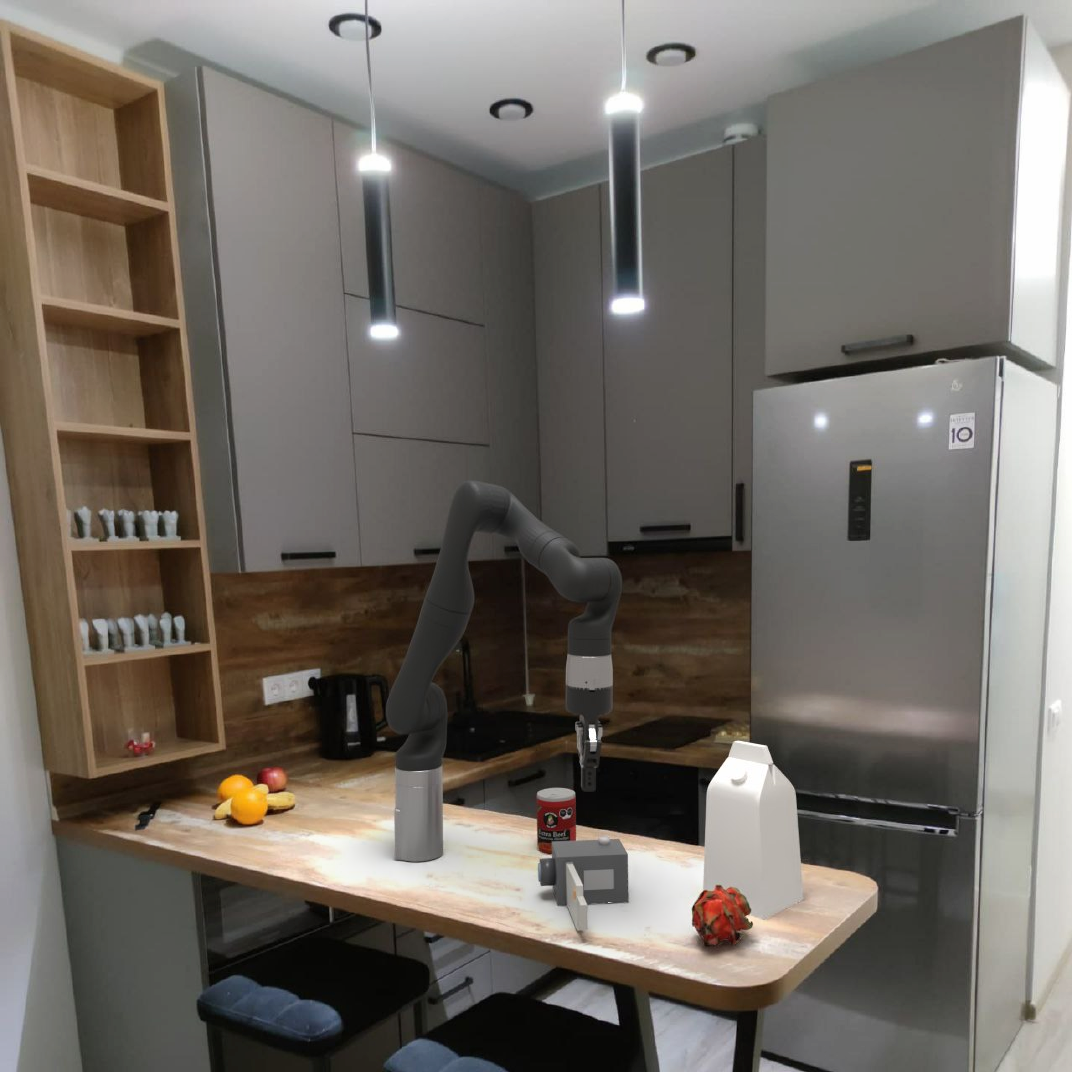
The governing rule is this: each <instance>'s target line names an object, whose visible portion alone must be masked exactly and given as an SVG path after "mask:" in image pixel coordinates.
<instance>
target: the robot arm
mask: <svg viewBox="0 0 1072 1072" xmlns="http://www.w3.org/2000/svg"><path fill="white" fill-rule="evenodd" d="M475 533H482V534H489V535H490V534H497V535H500V536H503V537H505V538H508V539H510V540H513V541H514V542H515V543H516V544H517V547H518V550H519V552H520V554H521V556H522V557H523V558H524V559H525V560H526V562H528V564H530V565H532V566H533V567H534V568H536V569H537V570H538V571H540V572H541V573H543V574H544V575H546V577H547V578H548V579H549V582H550V583H551V584H552V585H553V587H554V588H555V590H556V591H557V593H558V594H559V595H560V596H561V597H563V598H564V599H567V600H569V601H571V602H574V603H587V604H586V607H585V611H584V612H583V613H582V614H581V615H578V616H577V617H574V618H572V619H571V620H569V623H568V626H567V659H566V666H565V710H566V711H567V712H568V713H569V714H573V715H577V716H578V715H579V721H576V722H575V731H576V744H577V745H576V749H577V750H578V758H579V764H580V770H581V771H580V777H581V778H580V787H581V790H582V791H583V792H587V793H588V792H595V791H596V788H597V768H598V767H599V765H600V758H601V751H602V746H603V742H602V739H601V738H602V737H603V725H602V724H601V721H599V716H601V715H603V716H604V715H608V714H609V713H612V711H613V703H614V702H613V700H614V699H613V694H614V692H613V690H614V689H613V683H614V677H613V676H614V675H613V673H614V669H613V659H612V629H613V625H614V622H615V617H616V613H617V611H618V605H619V604H620V598H621V594H622V588H623V587H622V586H623V578H622V573H621V571H620V569H619V567H618V565H617V564H616V563H615V561H613V560H612V559H610V558H606V557H581V553H580V550H579V548H578V546H577V545H576V544H574V543H573V542H572V541H571V540H569V539H568V538H566V537H565V536H564V535H562V534H560V533H559V532H557V531H556V530H554V529H552V528H551V527H549V526H548V525H546V524H545V523H544V522H543V521H541V520H539V518H537V517H536V516H535V515H534V514H533V513H532V512H531V511H530V510H529V509H528V508H526V507H525V505H523V503H521V500H519V499H518V498H517V497H516V496H515V495H514V494H513V493H512V492H510V490H508V488H505V487H503V486H501V485H498V484H493V483H489V482H488V483H487V482H483V481H478V480H465V481H463V482H462V483H461V484H460V485H459V486H458V488H457V489H456V491H455V493H453V497H452V500H451V503H450V506H449V510H448V515H447V519H446V525H445V528H444V533H443V538H442V542H441V547H440V549H439V554H438V557H437V560H436V564H435V568H434V571H433V574H432V577H431V580H430V583H429V586H428V589H427V590H426V591H427V592H426V594H425V597H424V599H423V603H422V605H421V609H420V613H419V616H418V619H417V624H416V625H415V626H416V627H415V629H414V631H413V635H412V638H411V640H410V643H409V647H408V649H407V652H406V654H405V658H404V660H403V662H402V665H401V667H400V669H399V671H398V674H397V676H396V679H395V681H394V683H393V685H392V687H391V690H390V692H389V694H388V698H387V701H386V704H385V705H386V706H385V718H386V721H387V724H388V726H389V727H390V729H391V730H392V731H393V732H394V733H396V734H399V735H408V736H407V738H406V741H405V742H404V743H403V744H402V745H401V746H400V748H399V749H398V750H397V751H396V752H395V754H394V792H395V795H394V796H395V797H394V798H395V799H394V800H395V802H394V803H395V805H394V806H395V807H394V811H393V814H394V819H393V820H394V860H400V861H405V862H415V863H416V862H427V861H431V860H435V859H439V858H440V857H441V856H442V855H443V854H444V808H443V807H444V798H443V797H444V796H443V793H444V792H443V787H444V786H443V757H444V755H445V752H446V749H447V748H446V747H447V737H448V735H447V733H448V729H447V728H448V703H447V698H446V696H445V693H444V691H443V689H442V688H441V687H440V686H439V685H438V684H436V683H434V682H432V681H433V679H434V677H435V675H436V673H437V671H438V669H439V668H440V667H441V665H442V664H443V663H444V661H445V660H446V659H447V658H448V657H449V655H450V653H452V651H453V650H455V648H456V646H457V645H458V643H459V642H460V640H461V639H462V637H463V635H464V633H465V631H466V629H467V626H468V623H469V621H470V617H471V614H472V612H473V608H474V604H475V589H474V585H473V581H472V576H471V573H470V569H469V568H470V567H469V561H468V560H469V554H470V553H469V552H470V549H471V544H472V540H473V537H474V535H475Z"/></svg>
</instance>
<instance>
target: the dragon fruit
mask: <svg viewBox="0 0 1072 1072" xmlns="http://www.w3.org/2000/svg"><path fill="white" fill-rule="evenodd" d="M750 913H751V908H750V907H749V903H748V901H747V899H746V897H745V896H744V895H743V894H741V893H740V891H739V890H738V889H737V888H735V887H729V888H727V889H726V890H725V889H724V888H723V887H722V886H721V885H716V886H715V890H714V891H708V890H704V891H703V890H702V891H701V892H700V894H699V895H698V897H697V899H696V900H695V902H694V904H692V907H691V915H692V918H691V926H692V927H694V929H695V931H696V932H697V934H698V935H699V937H702V942H703V946H704V947H705V948H706V947H707V946H717V947H718V946H720V945H722V944H723V943H724V941H728V943H729V944H730V945H732V946H735V945H736V944H738V943H739V942H740V941H741V939H742V937H743V936H744V935H745V932H743V931H749V930H751V929H752V928H753V927H754V926H753V925H754V923H753V921H750V920H749V918H748V917H747V916H750V915H749V914H750Z"/></svg>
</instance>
